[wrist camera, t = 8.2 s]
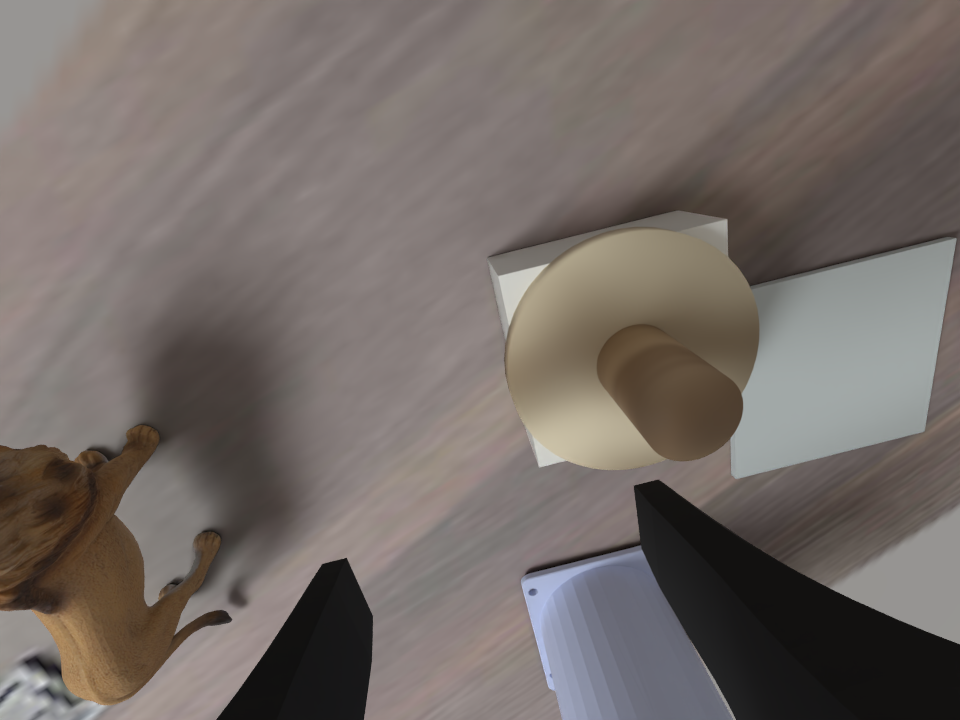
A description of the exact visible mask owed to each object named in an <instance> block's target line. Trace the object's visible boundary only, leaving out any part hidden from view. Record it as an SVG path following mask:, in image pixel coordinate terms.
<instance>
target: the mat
mask: <svg viewBox="0 0 960 720" xmlns="http://www.w3.org/2000/svg"><path fill="white" fill-rule="evenodd" d="M956 239H957V238H952V237H945V238H941V239H937V240H933V241H929V242H925V243H921V244H917V245H913V246H909V247H905V248H901V249H897V250H893V251H889V252H885V253H881V254H877V255H873V256H869V257H865V258H861V259H857V260H853V261H849V262H845V263H841V264H837V265H833V266H829V267H825V268H821V269H817V270H813V271H809V272H805V273H801V274H797V275H793V276H789V277H785V278H781V279H777V280H773V281H769V282H765V283H761V284H757V285H753V286H750V288H751V290H752V293H753V295H754V298H755V302H756V305H757V309H758V316H759V324H760V325H759V345H758V352H757V357H756V361H755V364H754V368H753V371H752V373H751V376H750V378H749V381H748V383H747V385H746V387H745V389H744V391H743V393H742V397H743V414H742V418H741V421H740V424H739V426H738V428H737V429H736V431H735V433H734V434H733V435H732V437H731V475H732V476H733V477H734V478H735V479H738V478H742V477H746V476H750V475H754V474H758V473H762V472H766V471H770V470H774V469H778V468H782V467H786V466H790V465H794V464H798V463H802V462H806V461H810V460H814V459H818V458H822V457H826V456H830V455H834V454H838V453H842V452H846V451H849V450H853V449H857V448H861V447H865V446H869V445H873V444H877V443H881V442H885V441H889V440H893V439H897V438H901V437H905V436H909V435H913V434H917V433H921V432H924V431H925V425H926V419H927V413H928V407H929V401H930V395H931V389H932V383H933V377H934V371H935V365H936V359H937V353H938V347H939V341H940V335H941V329H942V323H943V317H944V311H945V305H946V299H947V293H948V287H949V281H950V275H951V269H952V263H953V257H954V251H955V245H956Z"/></svg>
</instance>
